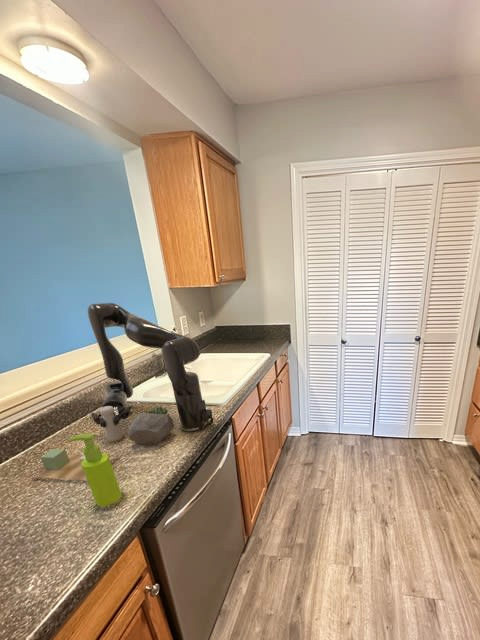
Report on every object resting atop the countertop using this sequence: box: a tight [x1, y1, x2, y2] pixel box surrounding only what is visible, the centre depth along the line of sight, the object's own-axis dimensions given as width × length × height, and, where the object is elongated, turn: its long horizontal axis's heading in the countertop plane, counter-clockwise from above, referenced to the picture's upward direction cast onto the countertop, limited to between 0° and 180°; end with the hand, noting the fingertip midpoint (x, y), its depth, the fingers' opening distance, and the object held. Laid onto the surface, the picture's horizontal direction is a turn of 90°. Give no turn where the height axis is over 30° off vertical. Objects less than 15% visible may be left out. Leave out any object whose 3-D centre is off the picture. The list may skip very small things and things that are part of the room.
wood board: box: [34, 454, 116, 481], centre depth 99 cm, size 18×12×1 cm, turn 82°
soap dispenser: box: [67, 433, 122, 508], centre depth 81 cm, size 6×7×20 cm
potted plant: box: [128, 405, 175, 446], centre depth 113 cm, size 12×13×15 cm
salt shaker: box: [99, 406, 125, 443], centre depth 112 cm, size 6×6×13 cm
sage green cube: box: [40, 448, 70, 470], centre depth 99 cm, size 4×4×4 cm
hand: (109, 424), depth 109 cm, fingers closed on salt shaker, 3 cm apart
